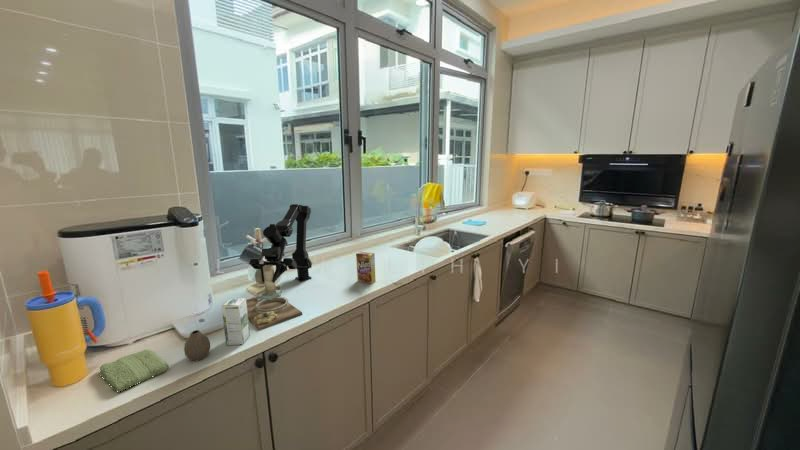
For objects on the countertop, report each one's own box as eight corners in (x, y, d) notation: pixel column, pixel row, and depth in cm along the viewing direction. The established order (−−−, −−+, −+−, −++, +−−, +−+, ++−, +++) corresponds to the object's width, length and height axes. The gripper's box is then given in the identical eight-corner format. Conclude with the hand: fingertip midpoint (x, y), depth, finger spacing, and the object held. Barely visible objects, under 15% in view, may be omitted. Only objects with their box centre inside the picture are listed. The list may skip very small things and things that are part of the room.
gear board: (234, 305, 134) (233, 298, 133) (273, 293, 145) (272, 287, 145) (258, 330, 113) (258, 322, 112) (302, 314, 124) (301, 307, 124)
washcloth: (150, 352, 101) (149, 343, 101) (172, 371, 91) (170, 361, 91) (96, 374, 91) (94, 364, 90) (114, 398, 81) (111, 387, 80)
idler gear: (262, 293, 131) (259, 264, 129) (281, 290, 134) (278, 262, 131) (259, 301, 124) (256, 270, 121) (280, 298, 126) (277, 268, 123)
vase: (216, 352, 99) (213, 328, 98) (196, 365, 93) (192, 339, 91) (201, 349, 102) (197, 324, 100) (180, 361, 95) (176, 335, 94)
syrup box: (233, 336, 109) (228, 298, 106) (250, 335, 109) (246, 297, 106) (226, 346, 103) (220, 305, 100) (244, 344, 104) (239, 304, 101)
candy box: (356, 281, 159) (355, 253, 156) (361, 278, 163) (360, 251, 160) (371, 284, 155) (370, 255, 152) (375, 281, 159) (374, 252, 156)
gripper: (248, 239, 129) (236, 274, 120) (291, 239, 128) (282, 274, 119) (260, 252, 138) (249, 285, 129) (300, 252, 137) (292, 285, 128)
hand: (268, 282), depth 126 cm, fingers closed on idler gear, 4 cm apart
